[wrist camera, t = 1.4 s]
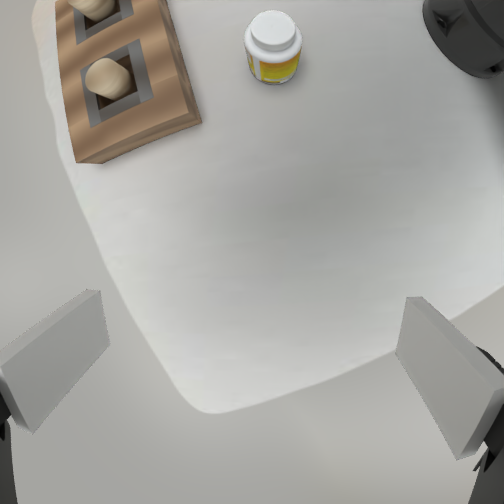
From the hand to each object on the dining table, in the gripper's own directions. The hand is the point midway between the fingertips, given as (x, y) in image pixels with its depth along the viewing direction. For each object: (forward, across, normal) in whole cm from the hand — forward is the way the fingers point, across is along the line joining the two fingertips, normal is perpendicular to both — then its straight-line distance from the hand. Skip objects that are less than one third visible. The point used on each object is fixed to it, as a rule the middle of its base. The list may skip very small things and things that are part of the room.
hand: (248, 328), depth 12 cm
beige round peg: (+19, -19, +29) cm, 40 cm away
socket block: (+24, -18, +23) cm, 38 cm away
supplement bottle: (+25, +1, +20) cm, 32 cm away
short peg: (+21, -16, +17) cm, 32 cm away
